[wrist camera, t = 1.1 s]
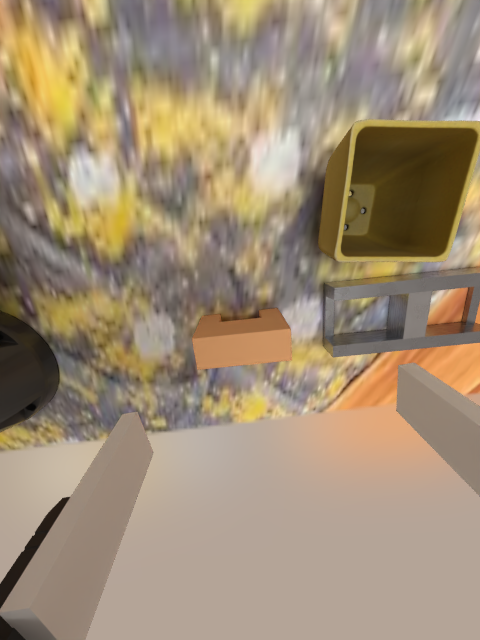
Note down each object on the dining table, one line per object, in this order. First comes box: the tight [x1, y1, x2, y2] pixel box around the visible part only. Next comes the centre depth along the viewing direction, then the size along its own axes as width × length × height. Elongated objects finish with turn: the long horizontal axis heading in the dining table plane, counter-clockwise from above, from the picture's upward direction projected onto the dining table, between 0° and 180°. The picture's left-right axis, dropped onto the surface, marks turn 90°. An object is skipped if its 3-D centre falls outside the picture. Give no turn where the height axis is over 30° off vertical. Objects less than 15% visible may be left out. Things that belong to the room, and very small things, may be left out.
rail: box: [323, 267, 480, 357], centre depth 27 cm, size 18×8×3 cm, turn 96°
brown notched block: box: [192, 308, 292, 370], centre depth 25 cm, size 9×3×7 cm, turn 96°
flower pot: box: [318, 119, 480, 262], centre depth 20 cm, size 9×9×9 cm
